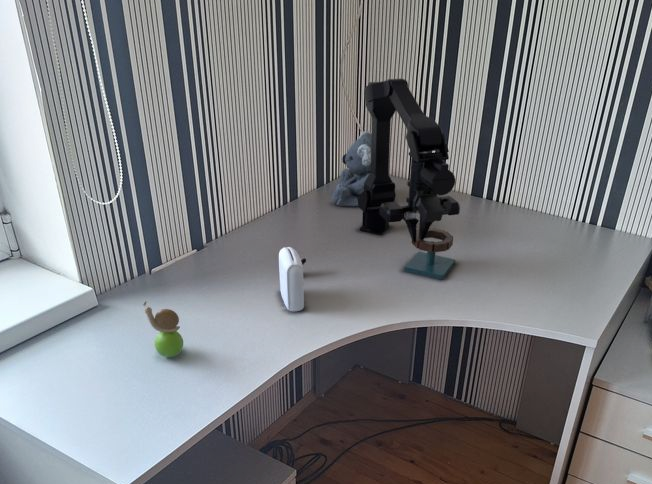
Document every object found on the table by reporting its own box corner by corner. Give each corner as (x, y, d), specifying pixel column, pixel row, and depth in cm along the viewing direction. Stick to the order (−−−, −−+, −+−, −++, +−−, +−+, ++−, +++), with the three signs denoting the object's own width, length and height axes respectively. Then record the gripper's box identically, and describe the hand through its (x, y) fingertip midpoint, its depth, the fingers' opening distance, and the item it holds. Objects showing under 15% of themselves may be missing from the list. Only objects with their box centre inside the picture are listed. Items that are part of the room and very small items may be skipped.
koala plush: (338, 187, 219) (339, 125, 208) (395, 191, 218) (398, 129, 207) (330, 207, 204) (331, 142, 194) (391, 211, 203) (394, 146, 192)
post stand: (404, 271, 171) (405, 246, 167) (418, 255, 179) (420, 231, 175) (442, 279, 168) (444, 255, 164) (455, 263, 175) (457, 239, 172)
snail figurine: (154, 347, 139) (145, 295, 132) (186, 346, 139) (179, 294, 133) (149, 362, 134) (140, 309, 128) (182, 362, 135) (175, 309, 128)
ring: (406, 246, 168) (407, 239, 166) (420, 232, 175) (421, 225, 174) (444, 255, 164) (444, 247, 163) (456, 240, 172) (457, 233, 171)
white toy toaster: (278, 291, 160) (276, 242, 153) (296, 289, 161) (295, 241, 154) (287, 313, 152) (285, 263, 145) (306, 311, 153) (305, 261, 146)
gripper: (398, 196, 150) (394, 260, 159) (474, 188, 156) (466, 250, 165) (379, 179, 159) (377, 241, 167) (452, 172, 165) (446, 232, 173)
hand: (417, 241), depth 168 cm, fingers closed on ring, 2 cm apart
